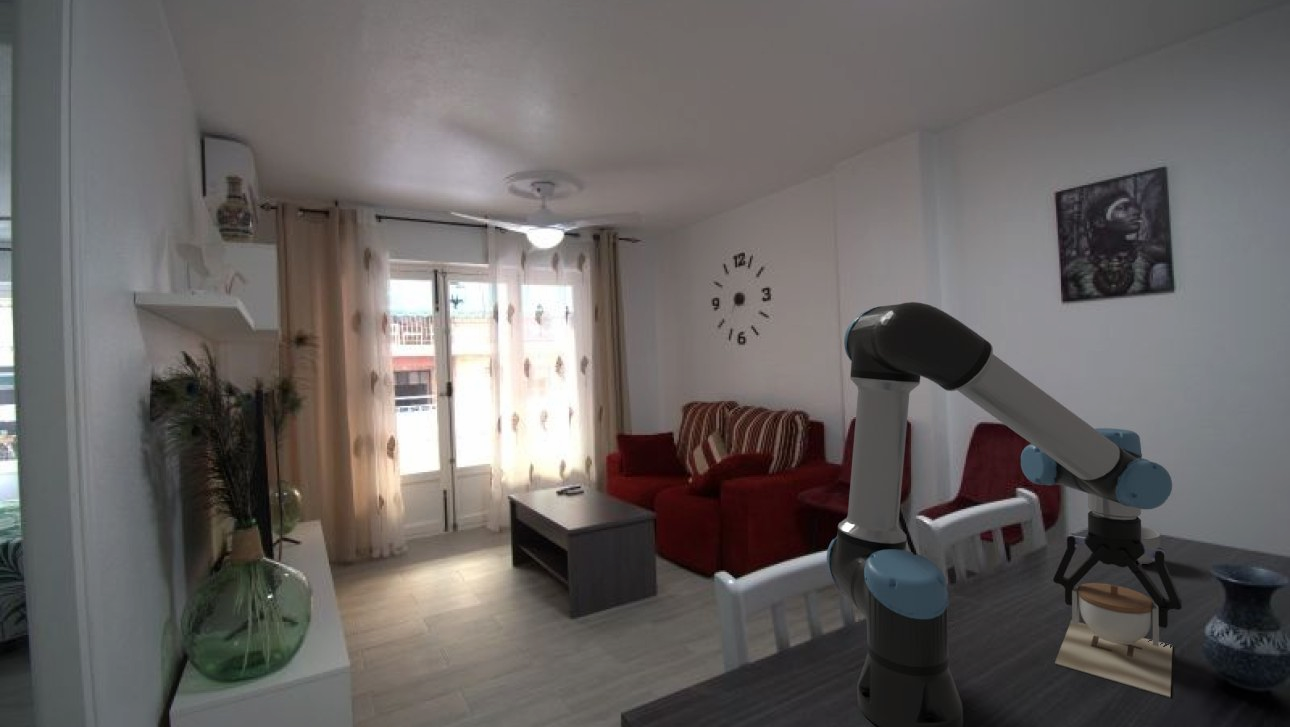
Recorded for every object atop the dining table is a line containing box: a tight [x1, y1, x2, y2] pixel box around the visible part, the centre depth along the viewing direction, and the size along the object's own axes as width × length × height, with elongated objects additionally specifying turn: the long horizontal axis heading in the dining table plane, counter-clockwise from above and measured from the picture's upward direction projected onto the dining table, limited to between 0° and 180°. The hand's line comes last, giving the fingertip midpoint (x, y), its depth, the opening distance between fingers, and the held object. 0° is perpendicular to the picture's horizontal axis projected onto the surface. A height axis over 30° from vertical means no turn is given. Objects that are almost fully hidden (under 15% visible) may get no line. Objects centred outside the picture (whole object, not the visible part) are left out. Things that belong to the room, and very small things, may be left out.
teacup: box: [1137, 525, 1161, 565], centre depth 145 cm, size 14×11×8 cm
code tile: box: [1054, 619, 1173, 698], centre depth 102 cm, size 20×15×1 cm
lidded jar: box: [1077, 582, 1154, 645], centre depth 104 cm, size 11×11×9 cm
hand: (1114, 632), depth 104 cm, fingers closed on lidded jar, 11 cm apart
